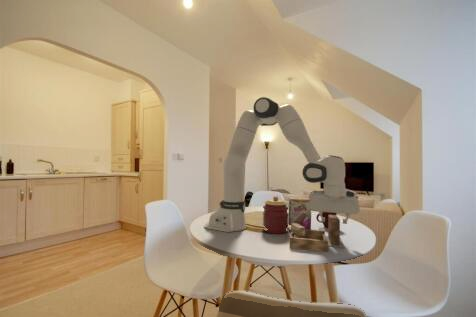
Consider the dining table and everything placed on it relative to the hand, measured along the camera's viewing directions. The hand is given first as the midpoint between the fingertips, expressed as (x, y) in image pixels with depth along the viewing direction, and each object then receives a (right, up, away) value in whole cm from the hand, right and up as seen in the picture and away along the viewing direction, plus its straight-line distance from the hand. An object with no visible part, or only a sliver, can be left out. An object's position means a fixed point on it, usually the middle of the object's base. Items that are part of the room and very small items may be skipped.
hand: (333, 222), depth 101 cm
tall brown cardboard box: (0, -8, 0) cm, 8 cm away
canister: (-23, -9, +16) cm, 30 cm away
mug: (+6, -9, +23) cm, 26 cm away
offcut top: (-16, -5, -1) cm, 17 cm away
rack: (-12, -8, -2) cm, 15 cm away
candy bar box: (-11, -9, +17) cm, 22 cm away
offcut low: (-17, -9, -1) cm, 19 cm away
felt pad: (0, -9, 0) cm, 9 cm away
